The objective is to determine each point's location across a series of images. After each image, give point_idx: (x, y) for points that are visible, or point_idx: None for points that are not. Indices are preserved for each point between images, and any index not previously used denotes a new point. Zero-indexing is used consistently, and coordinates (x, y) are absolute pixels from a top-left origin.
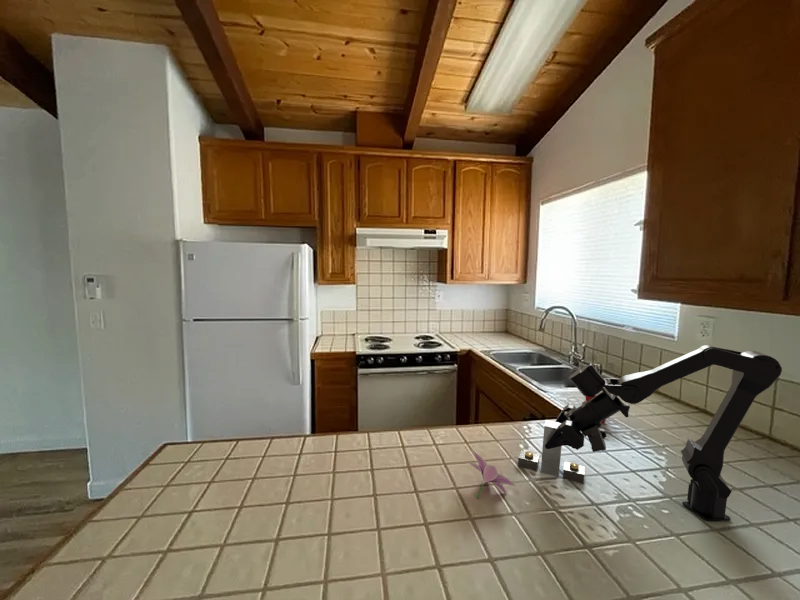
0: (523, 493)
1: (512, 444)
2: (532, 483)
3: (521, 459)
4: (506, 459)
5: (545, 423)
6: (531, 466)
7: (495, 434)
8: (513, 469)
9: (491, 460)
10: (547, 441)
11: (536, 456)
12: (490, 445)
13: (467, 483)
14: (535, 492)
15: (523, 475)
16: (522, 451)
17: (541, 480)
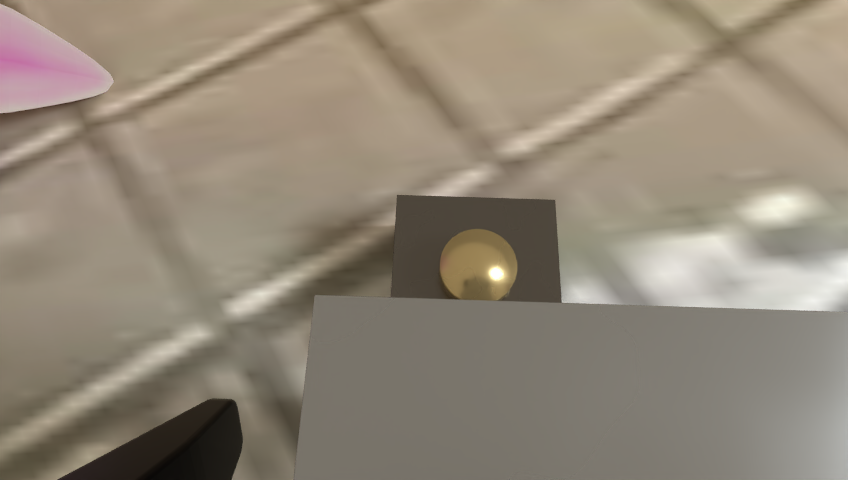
0: (24, 306)
1: (748, 146)
2: (186, 351)
3: (397, 223)
4: (464, 144)
5: (532, 314)
6: None
7: (824, 22)
8: (337, 205)
9: (392, 66)
10: (153, 443)
11: None
12: (613, 25)
13: (48, 11)
14: (62, 384)
15: (280, 278)
16: (537, 210)
17: (262, 414)
